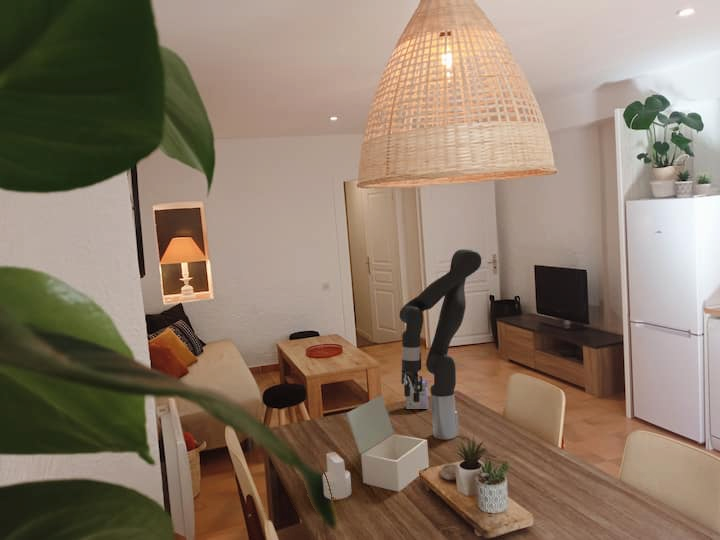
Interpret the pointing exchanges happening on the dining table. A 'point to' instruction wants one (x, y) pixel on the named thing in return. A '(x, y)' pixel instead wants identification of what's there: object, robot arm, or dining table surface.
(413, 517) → the dining table surface
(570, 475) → the dining table surface
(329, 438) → the dining table surface
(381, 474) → the storage box
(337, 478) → the cylinder with rectangular tab
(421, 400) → the ink cartridge box
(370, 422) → the lid
